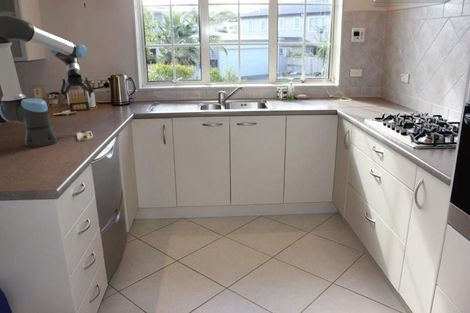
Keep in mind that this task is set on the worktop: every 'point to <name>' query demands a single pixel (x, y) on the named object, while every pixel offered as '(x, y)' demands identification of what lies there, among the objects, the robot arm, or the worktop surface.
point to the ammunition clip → (78, 102)
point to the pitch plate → (84, 135)
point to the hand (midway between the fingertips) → (79, 102)
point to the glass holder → (91, 99)
